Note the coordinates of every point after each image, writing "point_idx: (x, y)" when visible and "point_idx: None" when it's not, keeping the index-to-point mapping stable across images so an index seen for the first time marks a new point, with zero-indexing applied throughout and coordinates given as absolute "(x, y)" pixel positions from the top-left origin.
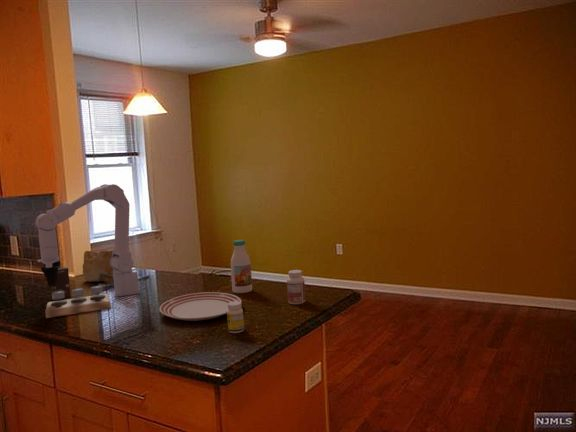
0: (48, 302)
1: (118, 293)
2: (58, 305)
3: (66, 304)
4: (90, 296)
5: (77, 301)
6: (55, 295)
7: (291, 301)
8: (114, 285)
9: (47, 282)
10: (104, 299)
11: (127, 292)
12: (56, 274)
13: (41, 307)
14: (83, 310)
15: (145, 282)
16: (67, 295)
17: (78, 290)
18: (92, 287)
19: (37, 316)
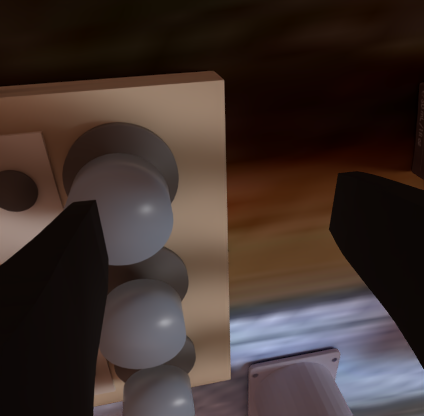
0: (216, 85)
1: (265, 383)
2: (65, 181)
3: None
4: (218, 318)
5: None
6: (65, 205)
7: None
8: (302, 405)
9: (51, 222)
10: (96, 391)
11: (256, 409)
12: (374, 282)
13: (291, 5)
14: None
15: (408, 412)
16: (422, 163)
17: (119, 349)
18: (164, 402)
19: (26, 9)
